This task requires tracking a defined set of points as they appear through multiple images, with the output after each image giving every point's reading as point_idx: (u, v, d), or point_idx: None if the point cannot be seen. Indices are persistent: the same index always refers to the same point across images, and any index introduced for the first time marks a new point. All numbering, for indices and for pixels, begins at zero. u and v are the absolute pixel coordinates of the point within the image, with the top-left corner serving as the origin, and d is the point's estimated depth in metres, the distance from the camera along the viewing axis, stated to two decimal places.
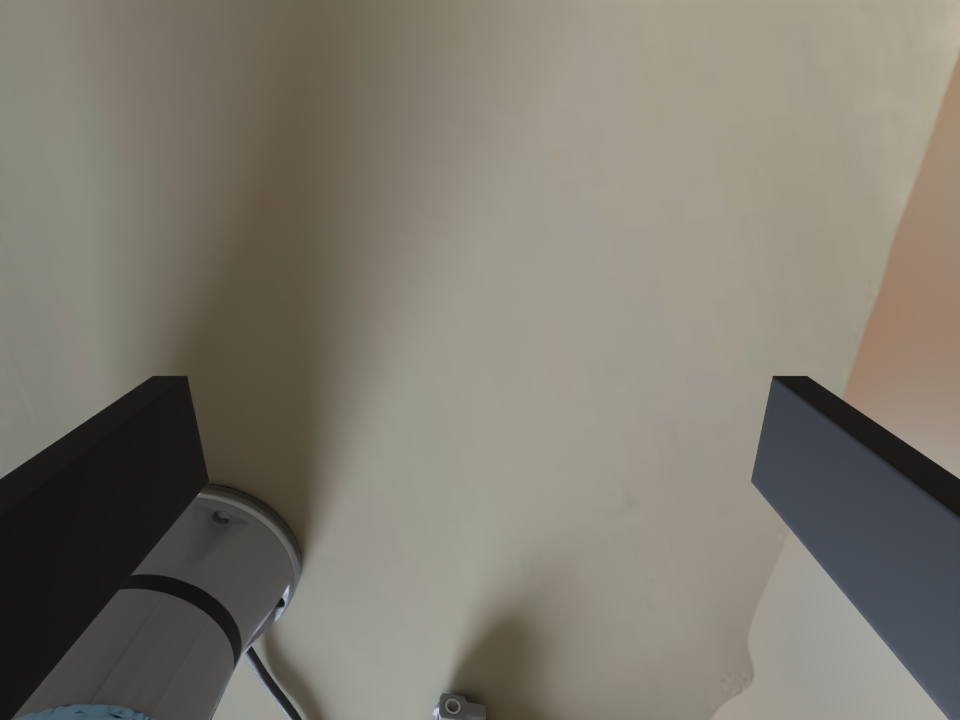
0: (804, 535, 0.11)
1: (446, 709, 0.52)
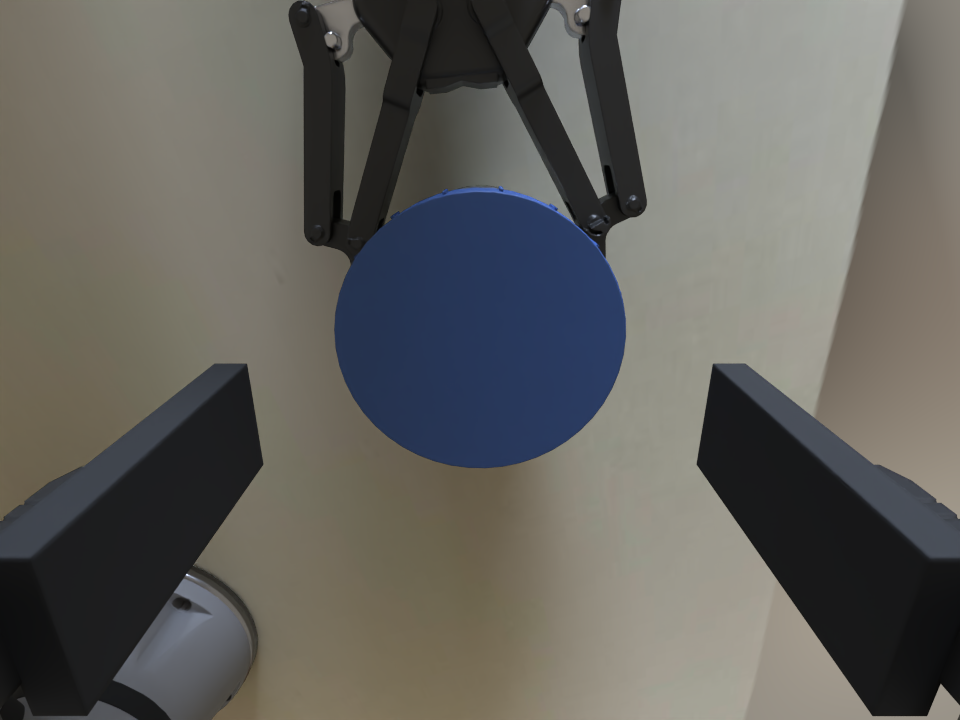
0: (736, 512, 0.11)
1: None
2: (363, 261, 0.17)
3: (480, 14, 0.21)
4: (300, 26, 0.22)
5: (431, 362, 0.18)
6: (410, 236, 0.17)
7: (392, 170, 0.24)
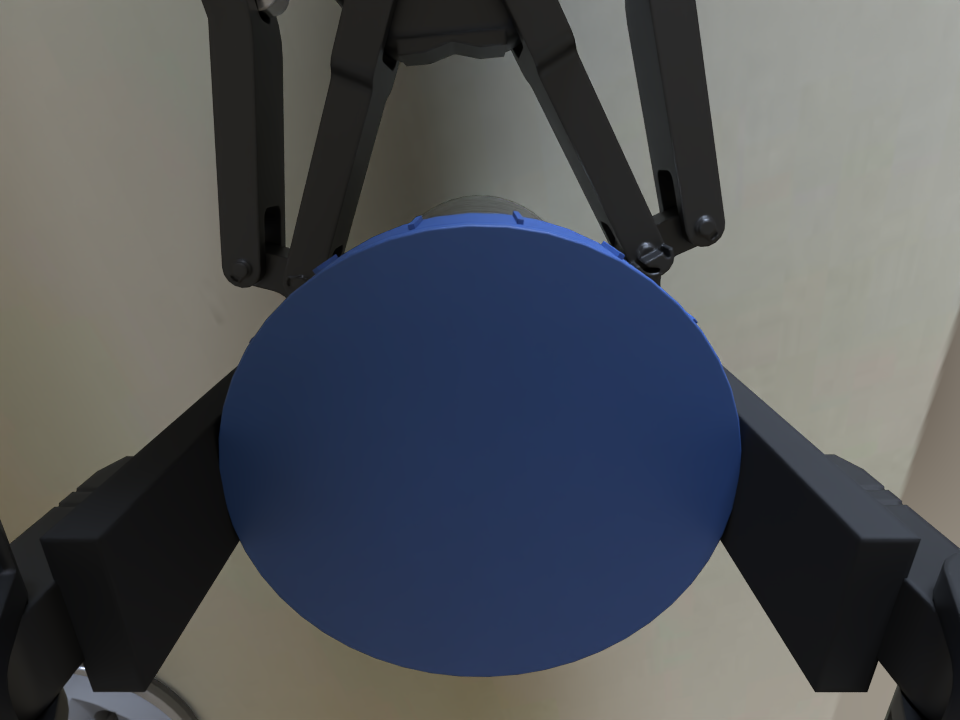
0: None
1: None
2: (262, 353, 0.09)
3: None
4: None
5: (394, 520, 0.10)
6: (347, 309, 0.09)
7: (349, 178, 0.16)
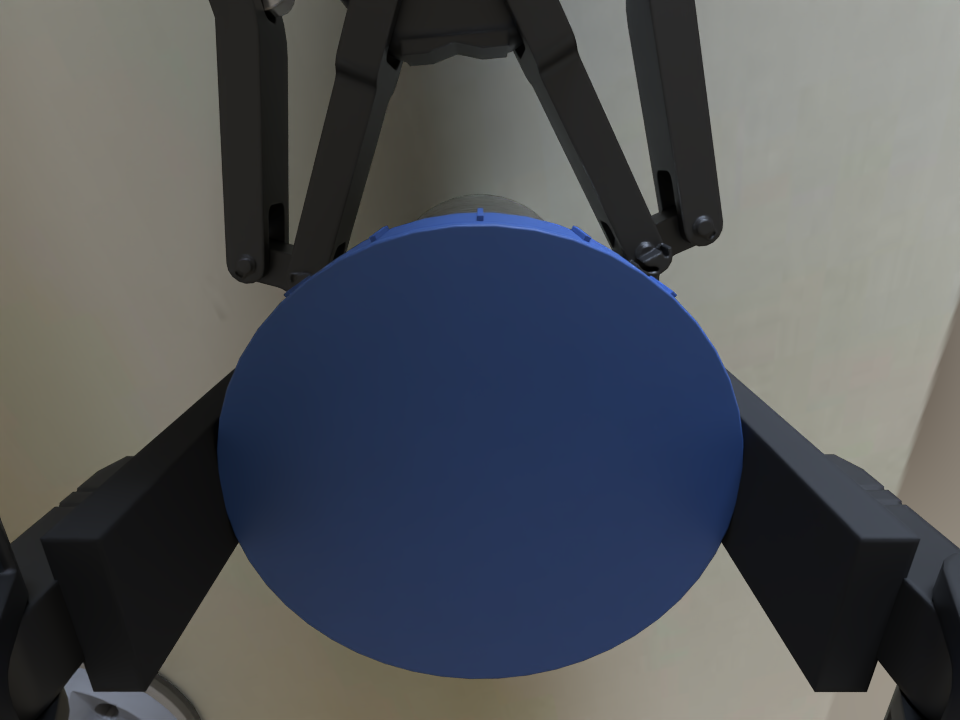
0: None
1: None
2: (358, 644, 0.11)
3: None
4: None
5: (519, 560, 0.11)
6: (312, 589, 0.11)
7: (352, 176, 0.17)
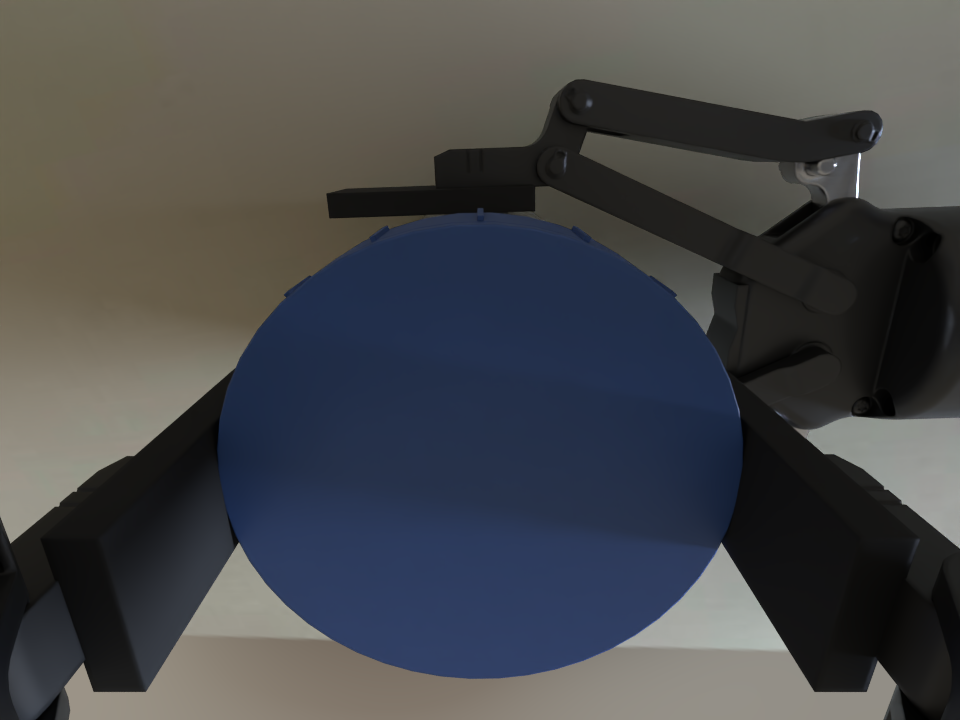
0: None
1: None
2: (358, 644, 0.11)
3: (809, 362, 0.18)
4: (854, 126, 0.16)
5: (519, 560, 0.11)
6: (312, 588, 0.11)
7: (650, 231, 0.17)
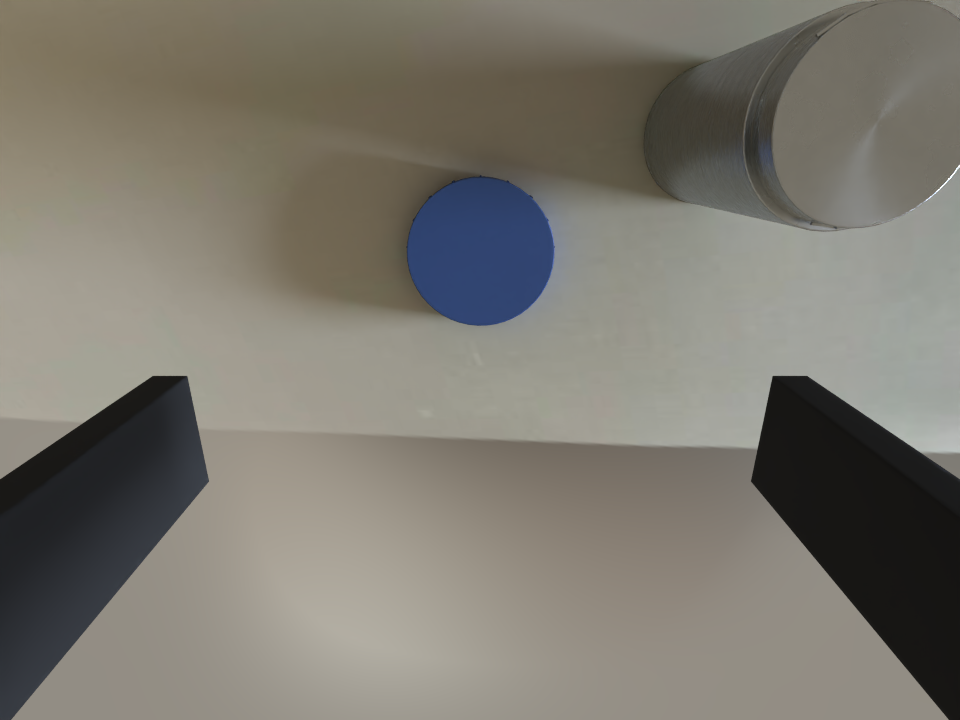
0: (804, 535, 0.11)
1: None
2: (443, 311, 0.37)
3: None
4: None
5: (492, 279, 0.36)
6: (430, 289, 0.37)
7: None
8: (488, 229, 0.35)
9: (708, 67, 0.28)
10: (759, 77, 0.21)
